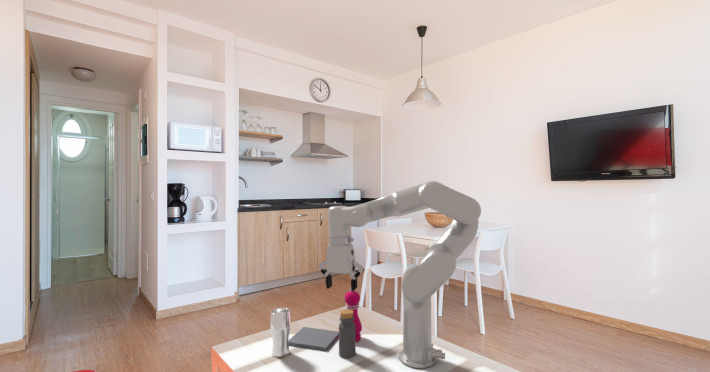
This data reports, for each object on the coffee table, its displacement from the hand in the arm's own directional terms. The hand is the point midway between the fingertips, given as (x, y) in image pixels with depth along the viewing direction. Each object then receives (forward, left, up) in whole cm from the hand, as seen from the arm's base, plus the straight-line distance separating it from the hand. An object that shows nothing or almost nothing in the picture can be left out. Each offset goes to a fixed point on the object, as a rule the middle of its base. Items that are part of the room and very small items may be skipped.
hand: (341, 288), depth 121 cm
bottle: (-2, +1, -23) cm, 23 cm away
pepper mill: (0, -11, -23) cm, 26 cm away
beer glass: (+21, +7, -23) cm, 32 cm away
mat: (+14, -6, -23) cm, 27 cm away
